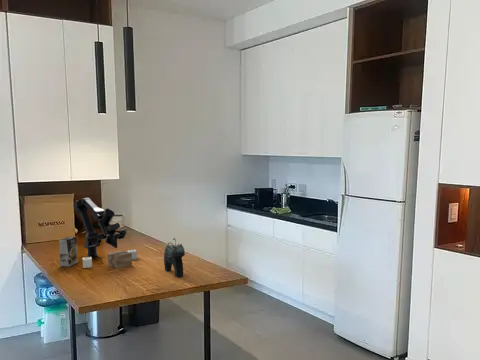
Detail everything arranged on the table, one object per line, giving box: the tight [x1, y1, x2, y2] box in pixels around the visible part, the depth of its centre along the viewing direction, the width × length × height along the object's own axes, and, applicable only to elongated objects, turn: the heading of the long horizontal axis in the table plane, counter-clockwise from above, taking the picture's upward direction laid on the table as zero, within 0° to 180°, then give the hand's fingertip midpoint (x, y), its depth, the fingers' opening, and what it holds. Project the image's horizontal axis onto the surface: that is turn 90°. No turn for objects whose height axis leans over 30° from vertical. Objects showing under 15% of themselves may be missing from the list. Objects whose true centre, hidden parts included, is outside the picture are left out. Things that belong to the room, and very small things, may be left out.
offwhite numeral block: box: [82, 256, 93, 269], centre depth 261 cm, size 5×5×5 cm
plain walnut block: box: [107, 250, 133, 270], centre depth 261 cm, size 10×10×8 cm
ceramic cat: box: [163, 238, 186, 279], centre depth 241 cm, size 20×6×20 cm, turn 32°
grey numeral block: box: [127, 249, 138, 261], centre depth 277 cm, size 5×5×5 cm
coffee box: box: [58, 236, 79, 267], centre depth 266 cm, size 9×6×16 cm
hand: (116, 247), depth 263 cm, fingers closed
